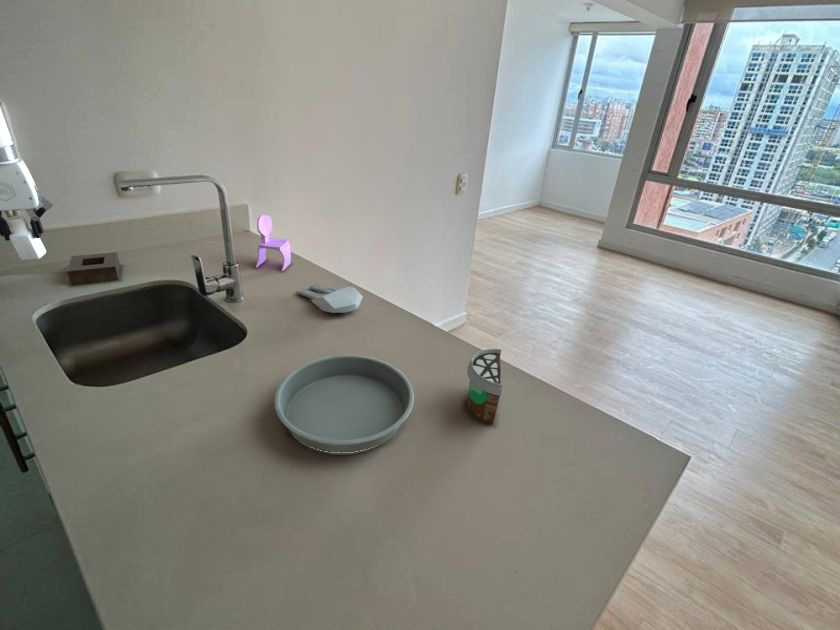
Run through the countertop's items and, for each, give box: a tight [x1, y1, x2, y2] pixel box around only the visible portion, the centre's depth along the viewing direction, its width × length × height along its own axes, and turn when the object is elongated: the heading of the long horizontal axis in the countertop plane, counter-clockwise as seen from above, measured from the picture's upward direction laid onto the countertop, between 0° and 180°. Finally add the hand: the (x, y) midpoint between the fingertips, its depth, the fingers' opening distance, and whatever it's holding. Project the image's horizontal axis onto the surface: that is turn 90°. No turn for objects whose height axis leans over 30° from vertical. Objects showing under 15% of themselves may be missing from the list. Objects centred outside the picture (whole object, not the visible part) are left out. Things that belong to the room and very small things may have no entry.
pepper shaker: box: [5, 215, 47, 261], centre depth 102 cm, size 4×4×10 cm
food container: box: [466, 348, 503, 425], centre depth 85 cm, size 12×6×10 cm, turn 172°
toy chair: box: [255, 214, 292, 272], centre depth 131 cm, size 8×9×15 cm
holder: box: [66, 251, 121, 286], centre depth 119 cm, size 10×10×4 cm
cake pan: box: [273, 354, 415, 456], centre depth 81 cm, size 25×25×4 cm
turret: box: [296, 283, 363, 314], centre depth 117 cm, size 10×20×5 cm, turn 50°
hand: (23, 236), depth 102 cm, fingers closed on pepper shaker, 4 cm apart
